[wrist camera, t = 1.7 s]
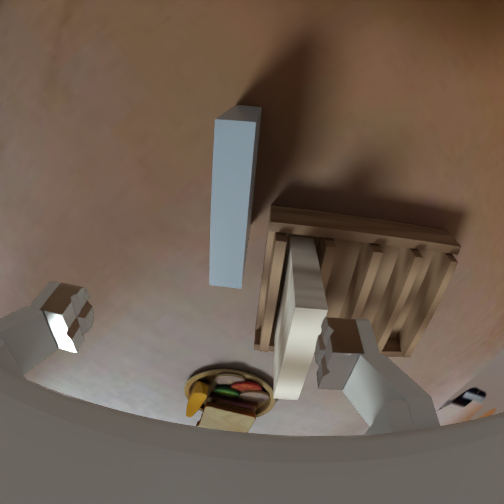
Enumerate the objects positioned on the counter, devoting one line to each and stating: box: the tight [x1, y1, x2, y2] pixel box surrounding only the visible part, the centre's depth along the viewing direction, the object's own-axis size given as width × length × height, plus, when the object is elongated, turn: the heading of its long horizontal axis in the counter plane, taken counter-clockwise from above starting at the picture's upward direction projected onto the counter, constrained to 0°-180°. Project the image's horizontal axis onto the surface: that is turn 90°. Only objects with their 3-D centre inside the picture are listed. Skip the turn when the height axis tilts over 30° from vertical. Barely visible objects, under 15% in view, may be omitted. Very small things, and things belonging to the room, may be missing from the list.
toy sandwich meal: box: [184, 369, 276, 433], centre depth 39 cm, size 12×14×5 cm
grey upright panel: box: [209, 105, 262, 288], centre depth 21 cm, size 10×2×9 cm, turn 175°
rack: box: [254, 205, 461, 400], centre depth 25 cm, size 14×17×10 cm
